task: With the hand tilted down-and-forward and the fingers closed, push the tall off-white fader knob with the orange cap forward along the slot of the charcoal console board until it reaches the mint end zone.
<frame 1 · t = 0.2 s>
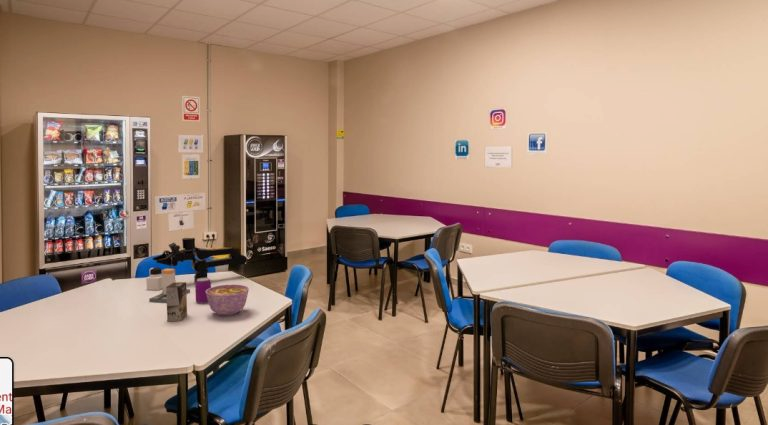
hand: (154, 260, 274), 17 cm above the table, tool horizontal, fingers open, 9 cm apart
beverage can: (203, 302, 253), on the table
medicine bottle: (156, 288, 277), on the table
bowl of food: (227, 313, 236), on the table
console board: (170, 296, 261), on the table
fader knob: (168, 281, 259), point 9 cm above the table, slide at 0.0 cm
coffee box: (177, 318, 227), on the table
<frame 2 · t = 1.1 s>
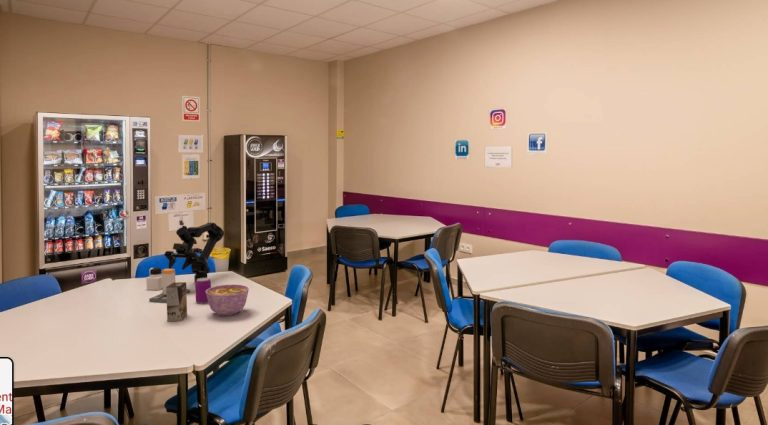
hand: (175, 269, 266), 14 cm above the table, tool tilted 45°, fingers open, 8 cm apart
nothing on the table moved.
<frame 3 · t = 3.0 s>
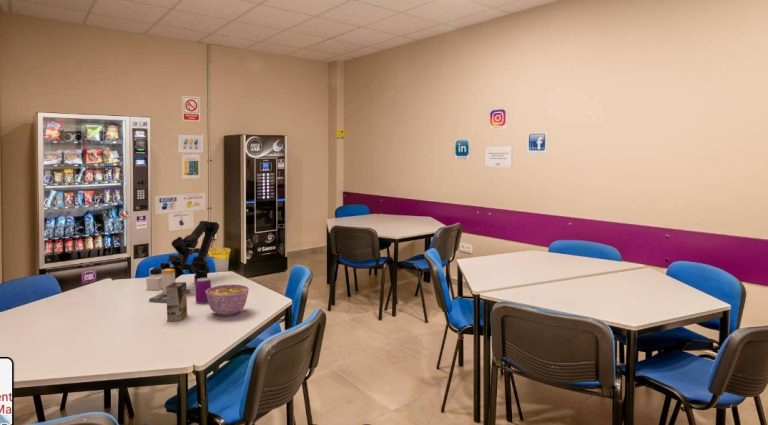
hand: (171, 281, 261), 8 cm above the table, tool tilted 45°, fingers closed, pressing on fader knob
fader knob: (168, 281, 259), point 9 cm above the table, slide at 0.0 cm, touching gripper
everything else where it was.
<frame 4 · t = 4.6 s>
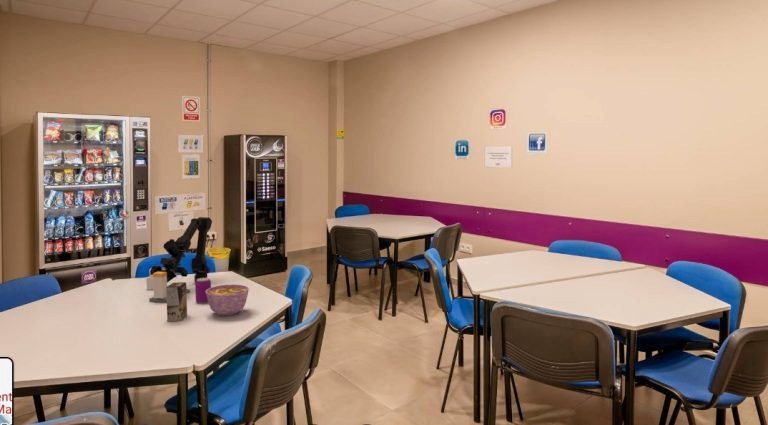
hand: (163, 284, 255), 8 cm above the table, tool tilted 45°, fingers closed
fader knob: (160, 284, 252), point 9 cm above the table, slide at 7.1 cm
everything else where it was.
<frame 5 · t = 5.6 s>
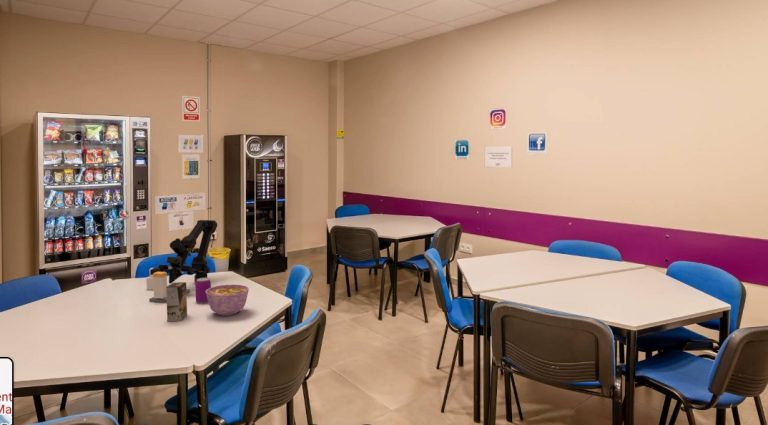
hand: (169, 283, 260), 8 cm above the table, tool tilted 45°, fingers closed
nothing on the table moved.
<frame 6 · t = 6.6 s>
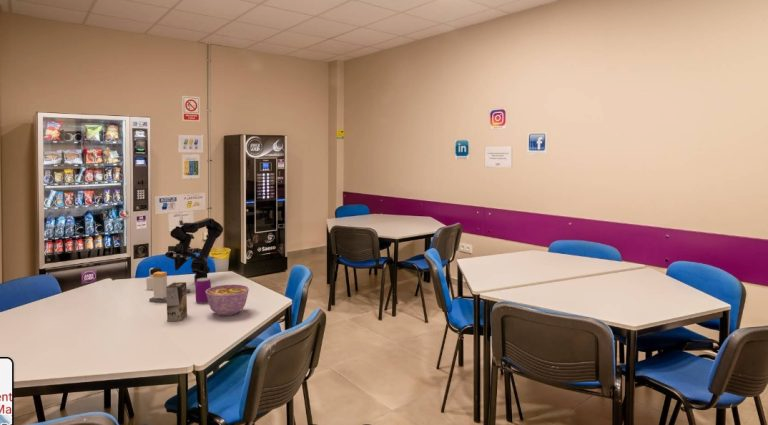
hand: (176, 270, 269), 12 cm above the table, tool tilted 30°, fingers closed
nothing on the table moved.
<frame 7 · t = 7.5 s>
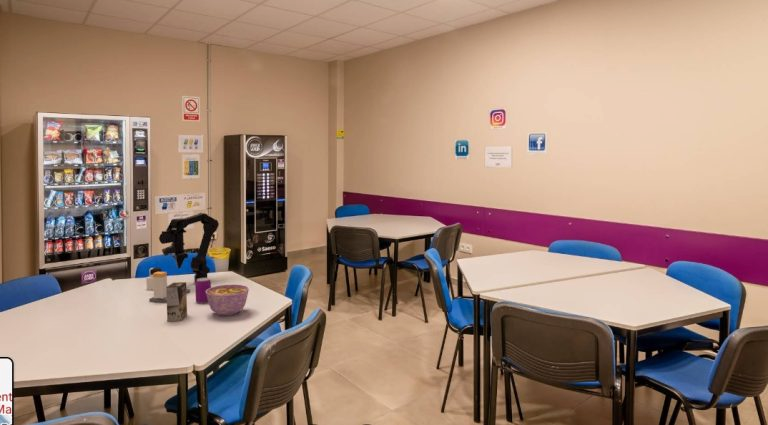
hand: (179, 268, 275), 12 cm above the table, tool pointing down, fingers closed
nothing on the table moved.
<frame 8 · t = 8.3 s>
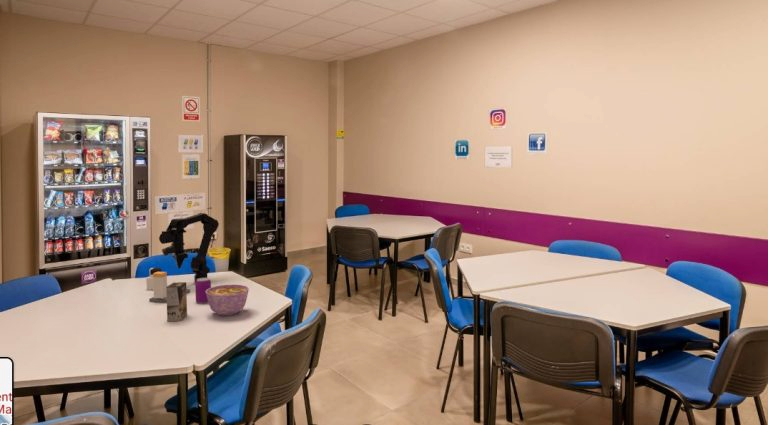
hand: (179, 268, 275), 12 cm above the table, tool pointing down, fingers closed
nothing on the table moved.
at the end: fader knob slide at 7.1 cm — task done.
